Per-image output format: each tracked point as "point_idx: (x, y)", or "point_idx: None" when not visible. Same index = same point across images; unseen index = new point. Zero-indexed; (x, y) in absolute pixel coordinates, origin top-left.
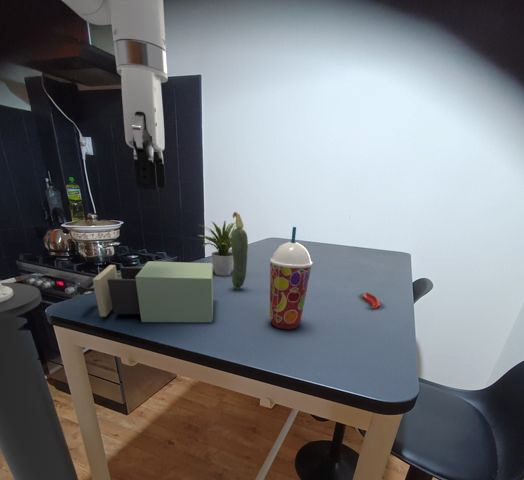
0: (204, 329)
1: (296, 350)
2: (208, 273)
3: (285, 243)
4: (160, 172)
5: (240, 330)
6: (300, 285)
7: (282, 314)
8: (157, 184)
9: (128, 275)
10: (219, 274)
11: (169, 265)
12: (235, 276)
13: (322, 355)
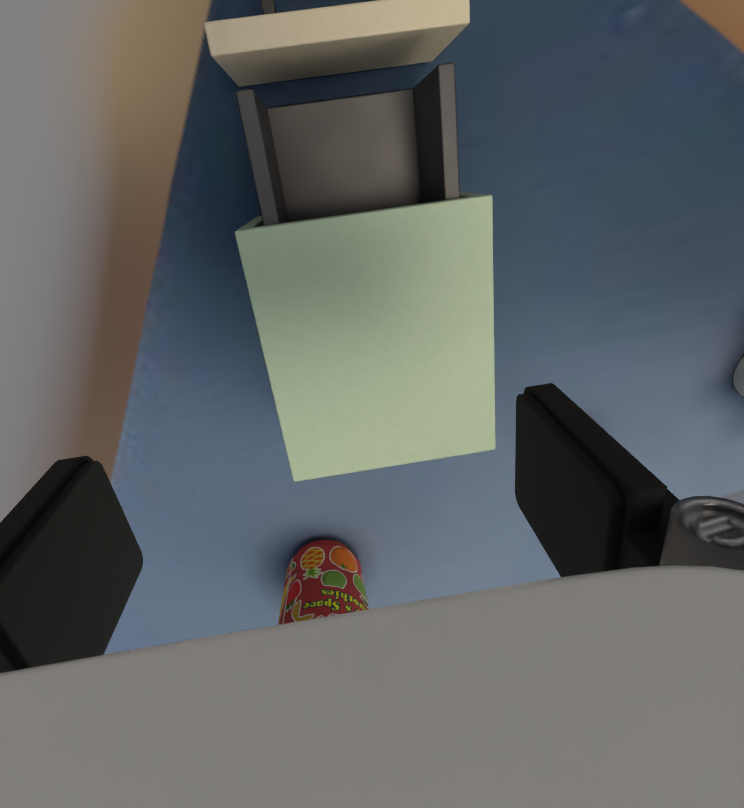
0: (252, 401)
1: (197, 583)
2: (350, 463)
3: None
4: (563, 553)
5: (267, 480)
6: None
7: (284, 586)
8: (523, 461)
9: (432, 108)
10: (741, 362)
11: (432, 309)
12: None
13: (190, 620)
